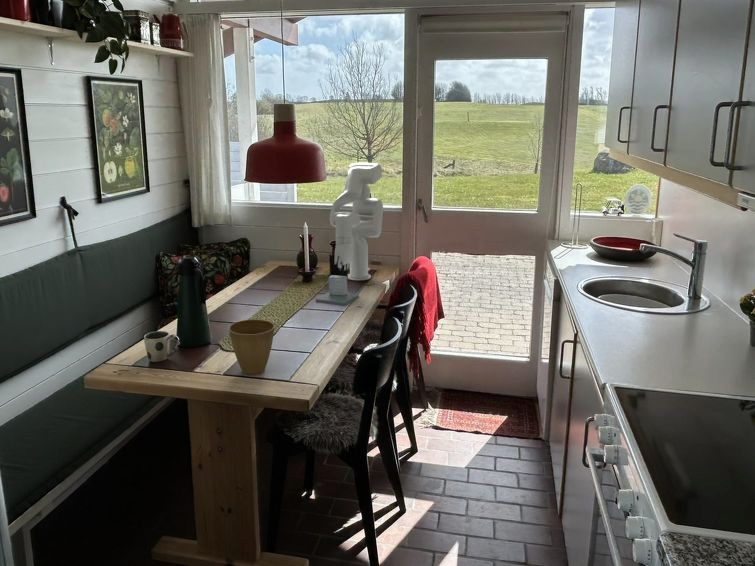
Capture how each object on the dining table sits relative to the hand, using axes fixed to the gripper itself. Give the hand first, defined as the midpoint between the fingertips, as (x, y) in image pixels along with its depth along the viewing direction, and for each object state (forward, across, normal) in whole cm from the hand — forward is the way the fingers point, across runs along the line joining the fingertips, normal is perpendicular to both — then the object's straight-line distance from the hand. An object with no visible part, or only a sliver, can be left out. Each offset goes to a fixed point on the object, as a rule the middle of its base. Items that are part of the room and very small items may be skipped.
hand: (344, 277), depth 300 cm
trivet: (+8, +10, +1) cm, 13 cm away
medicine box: (+7, +6, 0) cm, 9 cm away
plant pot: (+9, +96, +14) cm, 98 cm away
